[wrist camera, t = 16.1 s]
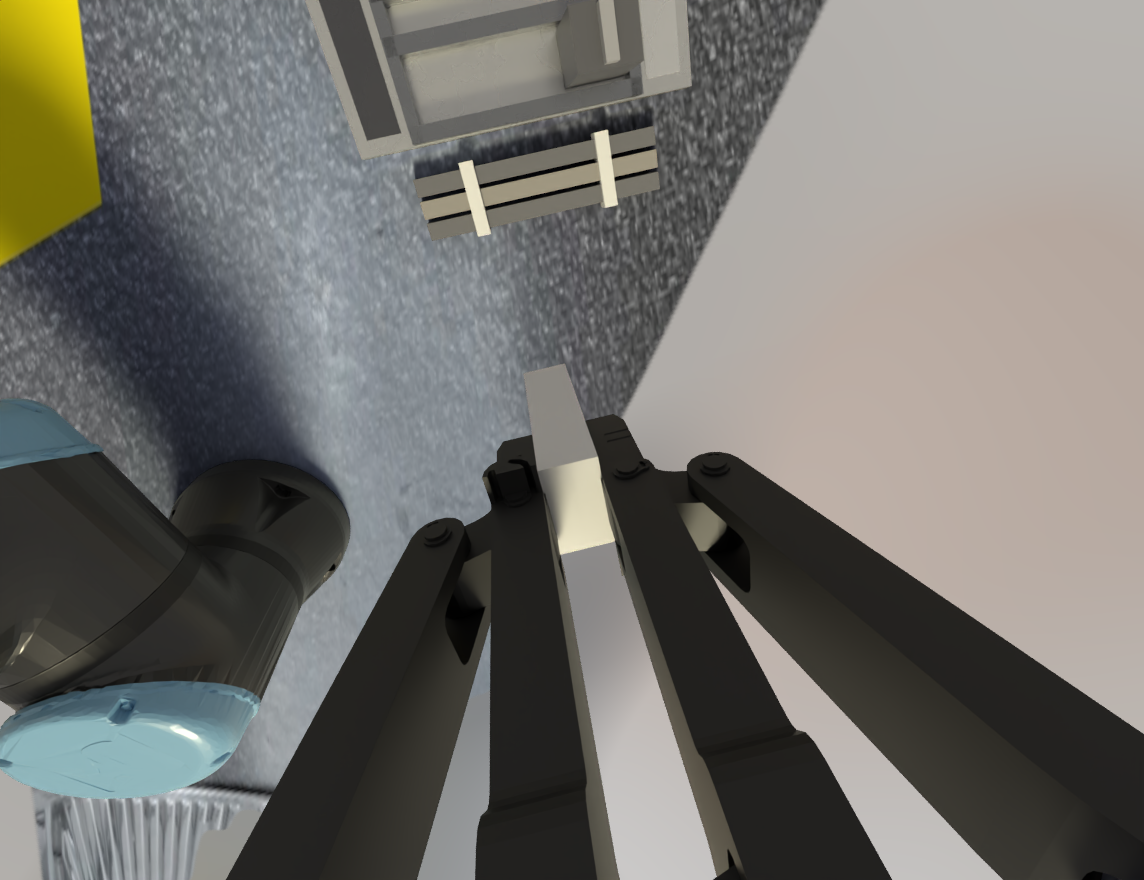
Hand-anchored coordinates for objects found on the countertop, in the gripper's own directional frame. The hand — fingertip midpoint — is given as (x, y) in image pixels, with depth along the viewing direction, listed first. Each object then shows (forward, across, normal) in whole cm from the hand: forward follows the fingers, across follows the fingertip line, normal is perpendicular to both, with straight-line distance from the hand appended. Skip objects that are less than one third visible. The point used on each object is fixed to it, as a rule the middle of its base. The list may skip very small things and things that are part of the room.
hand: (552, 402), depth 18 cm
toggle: (+25, +8, +13) cm, 29 cm away
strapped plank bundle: (+26, +3, +6) cm, 27 cm away
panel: (+26, +3, +17) cm, 32 cm away
